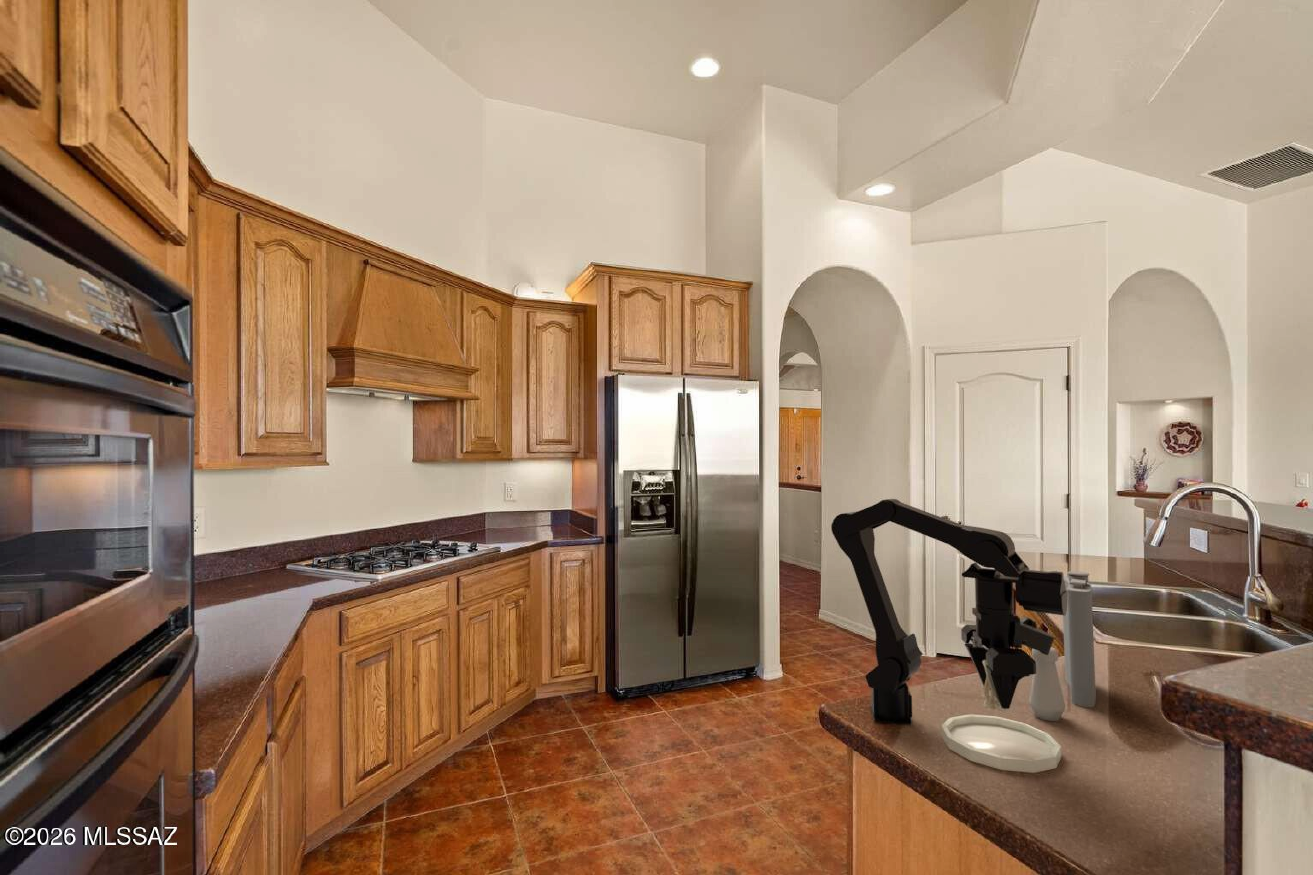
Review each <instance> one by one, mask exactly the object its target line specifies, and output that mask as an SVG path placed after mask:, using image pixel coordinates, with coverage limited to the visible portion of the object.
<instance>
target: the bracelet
mask: <svg viewBox="0 0 1313 875" xmlns="http://www.w3.org/2000/svg"><path fill="white" fill-rule="evenodd" d="M982 663H983V665H984V668H985V672H986V676H987V677H986V681H985V685H983V687H984V688H983V694H984V697H985V699H984V702H983V708H985V709H990V710H993V711H995V710H998V711H1001V712H1006V711H1007V709H1003V708H1002V707H1001V705H1000V703H999V700H998V698H997V695H996V692H995V690H994V687H993V684H992V682H991V679H990V677H989V674H988V671H987V669H986V666H985V665H987V661H986V660H983V662H982ZM990 688H991V690H990Z"/></svg>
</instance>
